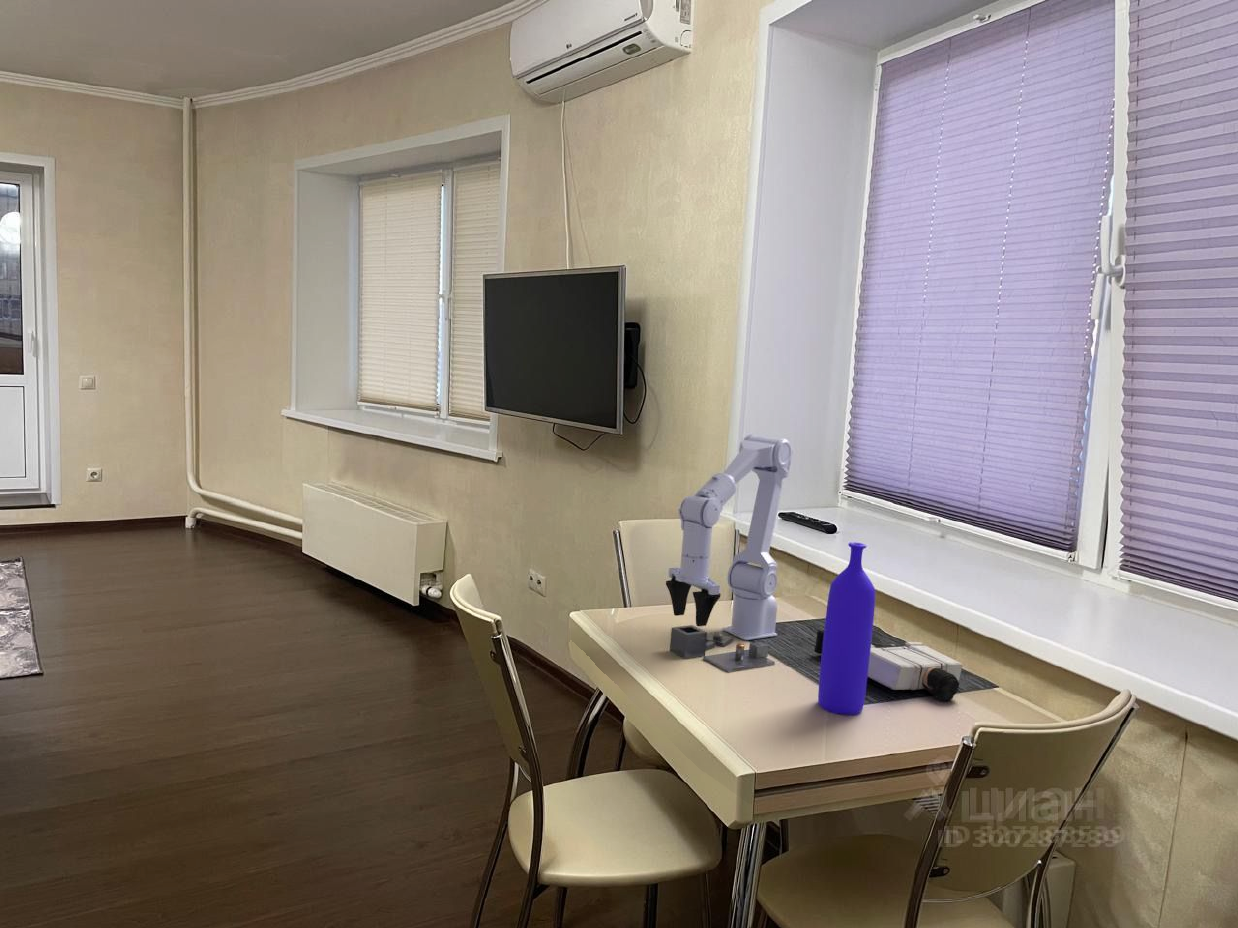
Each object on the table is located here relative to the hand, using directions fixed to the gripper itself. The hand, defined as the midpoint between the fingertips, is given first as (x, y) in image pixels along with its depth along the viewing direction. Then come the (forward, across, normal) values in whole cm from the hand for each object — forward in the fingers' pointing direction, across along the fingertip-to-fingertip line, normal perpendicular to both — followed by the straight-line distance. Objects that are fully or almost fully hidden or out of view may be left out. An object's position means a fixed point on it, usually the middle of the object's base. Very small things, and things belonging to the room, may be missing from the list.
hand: (689, 620), depth 192 cm
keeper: (+7, +8, +7) cm, 13 cm away
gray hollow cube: (+7, 0, 0) cm, 7 cm away
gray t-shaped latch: (+7, -3, +9) cm, 12 cm away
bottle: (+7, +34, +9) cm, 36 cm away
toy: (+8, +26, +32) cm, 42 cm away
